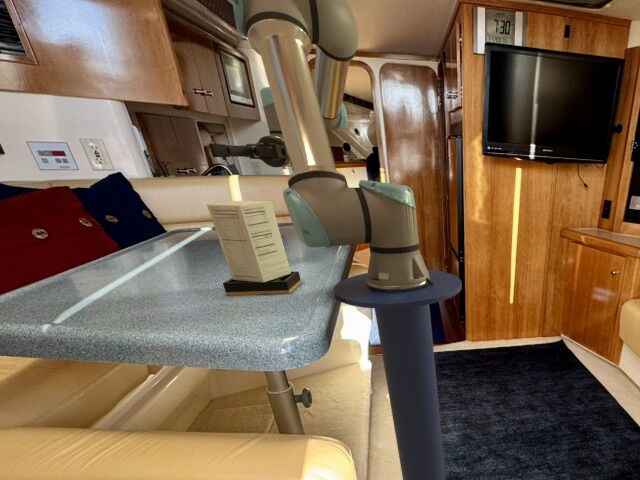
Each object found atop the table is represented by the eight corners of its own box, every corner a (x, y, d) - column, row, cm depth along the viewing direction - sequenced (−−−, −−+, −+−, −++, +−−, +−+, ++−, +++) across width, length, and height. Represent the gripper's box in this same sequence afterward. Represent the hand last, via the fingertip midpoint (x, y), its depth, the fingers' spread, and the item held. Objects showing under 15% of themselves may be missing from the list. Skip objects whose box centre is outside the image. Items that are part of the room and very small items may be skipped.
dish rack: (301, 282, 104) (298, 271, 103) (289, 293, 96) (286, 281, 94) (244, 284, 102) (240, 272, 101) (226, 295, 94) (222, 283, 92)
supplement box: (292, 273, 100) (273, 201, 92) (264, 283, 93) (240, 204, 84) (261, 271, 103) (240, 199, 94) (231, 280, 95) (205, 203, 86)
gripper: (326, 167, 114) (304, 169, 96) (232, 166, 111) (192, 168, 93) (320, 137, 111) (296, 132, 93) (223, 135, 107) (179, 130, 89)
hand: (244, 150), depth 93 cm, fingers open, 13 cm apart
